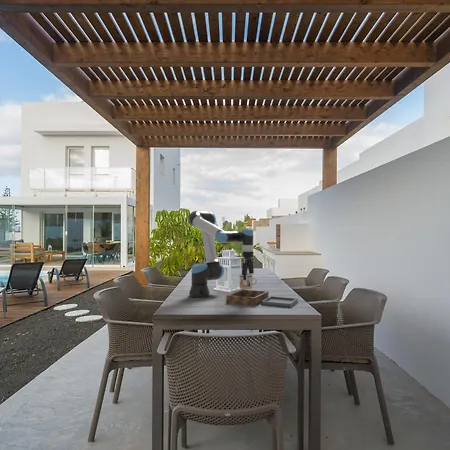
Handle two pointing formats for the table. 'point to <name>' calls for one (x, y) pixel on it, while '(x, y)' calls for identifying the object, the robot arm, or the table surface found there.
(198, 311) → the table surface
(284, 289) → the table surface
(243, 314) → the table surface
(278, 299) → the tray
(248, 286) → the teacup with lid
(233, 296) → the crate
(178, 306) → the table surface
